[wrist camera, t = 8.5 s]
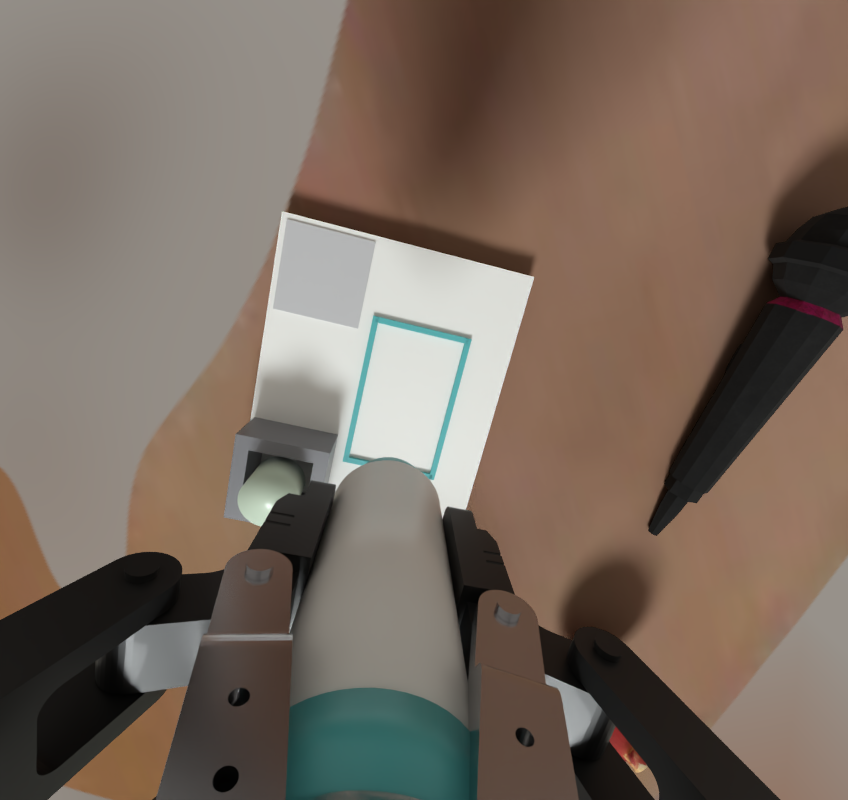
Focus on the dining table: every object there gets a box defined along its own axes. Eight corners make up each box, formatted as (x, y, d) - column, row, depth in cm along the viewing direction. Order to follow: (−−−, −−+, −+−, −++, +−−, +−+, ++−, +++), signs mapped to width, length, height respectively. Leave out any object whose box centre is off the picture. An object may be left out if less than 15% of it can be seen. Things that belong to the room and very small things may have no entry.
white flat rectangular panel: (287, 214, 22) (280, 210, 21) (529, 277, 24) (535, 276, 23) (244, 494, 26) (236, 504, 25) (453, 534, 28) (456, 545, 26)
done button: (258, 451, 22) (241, 471, 20) (309, 462, 23) (298, 482, 20) (250, 497, 23) (234, 521, 21) (300, 506, 23) (289, 531, 21)
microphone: (649, 506, 31) (839, 224, 24) (718, 569, 27) (980, 239, 20) (593, 498, 29) (785, 185, 22) (657, 565, 24) (928, 191, 17)
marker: (346, 435, 14) (222, 768, 5) (449, 455, 15) (538, 808, 5) (328, 527, 15) (190, 974, 5) (425, 545, 16) (460, 994, 6)
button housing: (254, 417, 24) (235, 433, 21) (338, 434, 24) (330, 453, 22) (243, 491, 25) (223, 517, 22) (323, 507, 26) (313, 533, 23)
